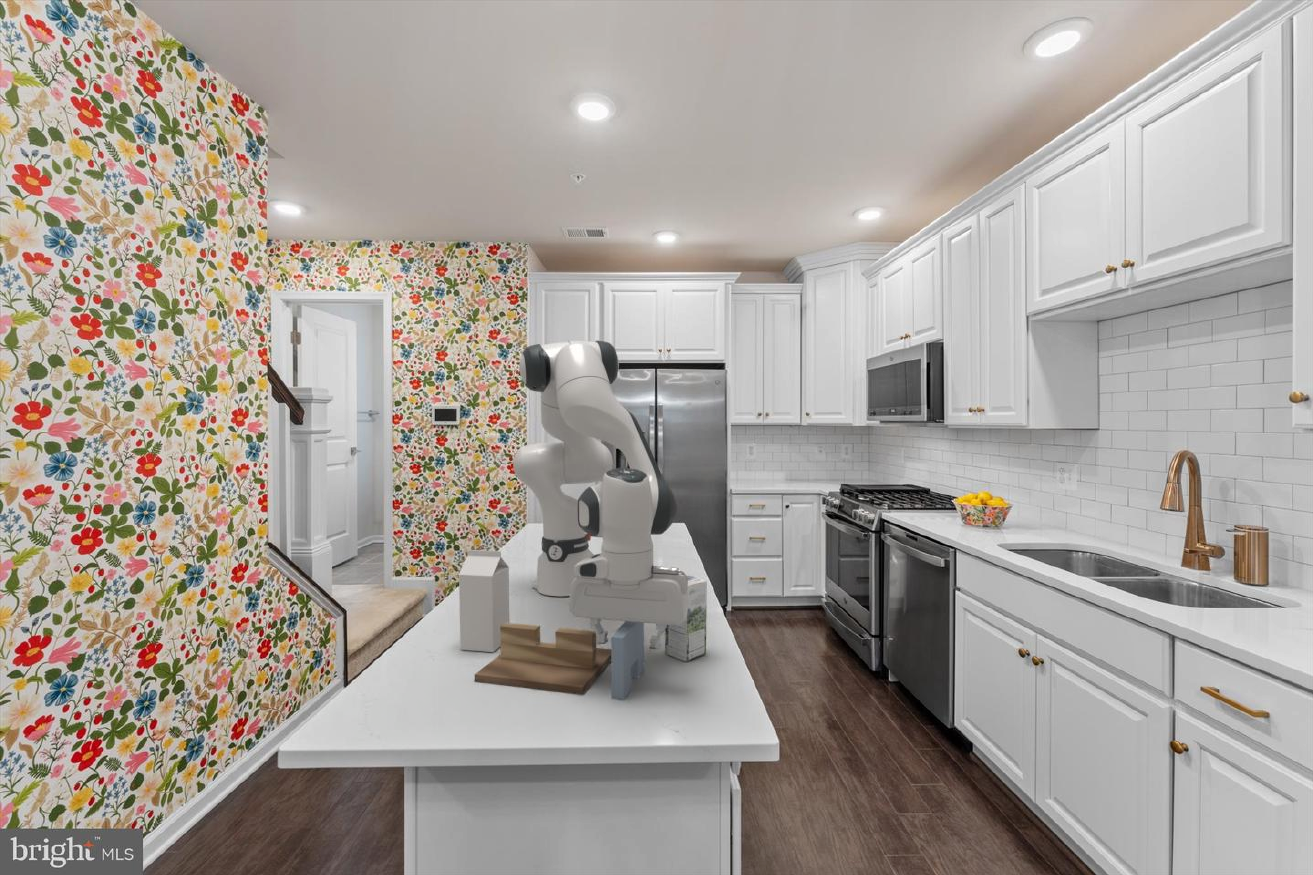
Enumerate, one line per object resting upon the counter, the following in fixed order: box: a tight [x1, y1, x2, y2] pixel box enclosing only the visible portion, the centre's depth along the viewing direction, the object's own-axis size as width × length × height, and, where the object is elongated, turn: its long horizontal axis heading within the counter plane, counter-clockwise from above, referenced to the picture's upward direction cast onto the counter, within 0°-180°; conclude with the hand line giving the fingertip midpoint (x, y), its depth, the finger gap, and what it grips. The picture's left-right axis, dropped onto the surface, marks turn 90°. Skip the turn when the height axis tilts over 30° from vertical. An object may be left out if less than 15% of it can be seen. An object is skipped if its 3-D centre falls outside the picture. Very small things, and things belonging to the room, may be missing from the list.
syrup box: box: [664, 574, 708, 663], centre depth 111 cm, size 6×6×14 cm
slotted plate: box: [610, 621, 645, 701], centre depth 99 cm, size 12×2×10 cm, turn 165°
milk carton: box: [458, 549, 511, 653], centre depth 116 cm, size 7×7×19 cm
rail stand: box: [474, 622, 611, 695], centre depth 105 cm, size 16×20×7 cm
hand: (628, 645), depth 99 cm, fingers open, 8 cm apart
